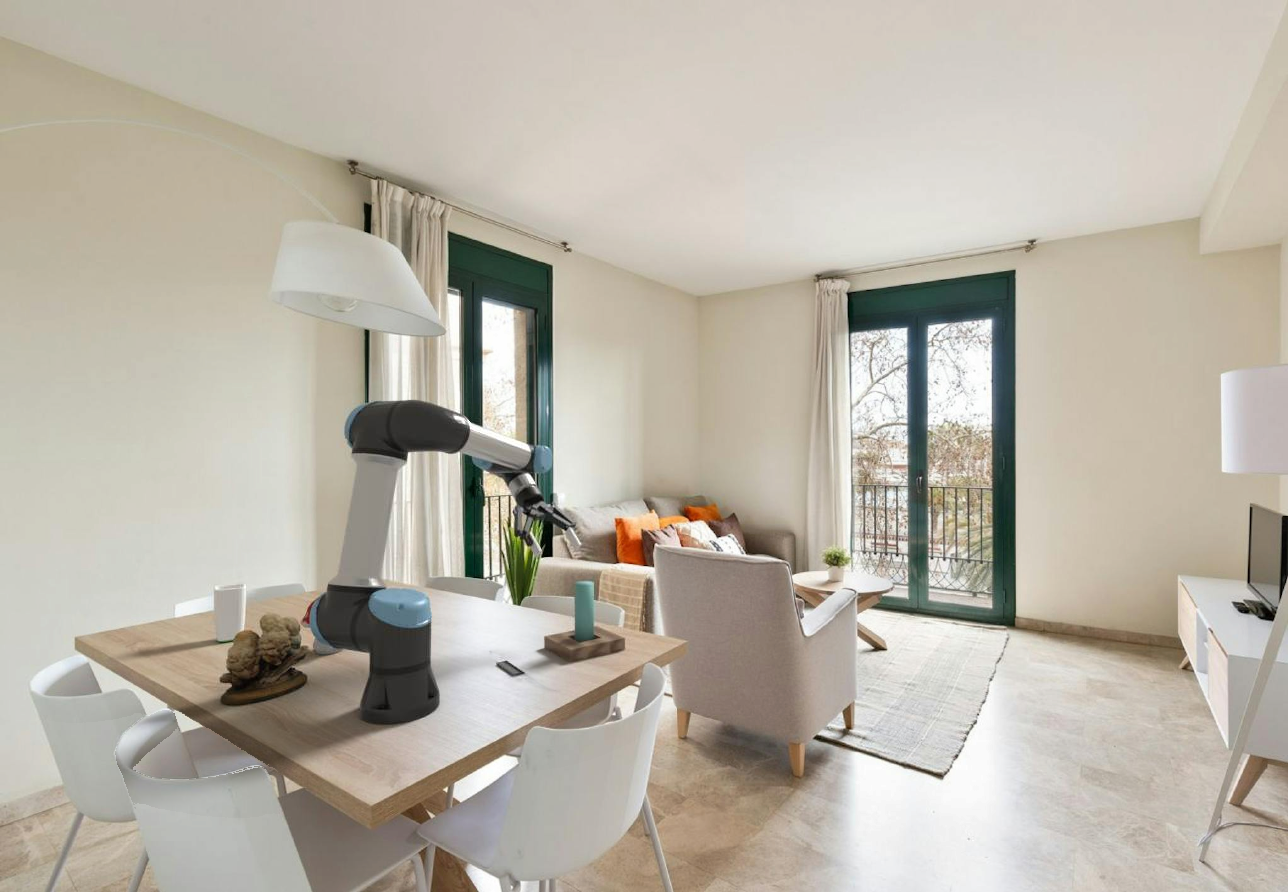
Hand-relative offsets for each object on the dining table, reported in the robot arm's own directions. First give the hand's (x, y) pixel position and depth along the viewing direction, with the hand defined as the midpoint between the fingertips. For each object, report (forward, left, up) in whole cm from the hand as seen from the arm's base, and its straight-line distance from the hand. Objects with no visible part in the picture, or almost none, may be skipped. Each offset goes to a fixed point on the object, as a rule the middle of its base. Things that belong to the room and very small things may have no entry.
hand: (559, 551), depth 167 cm
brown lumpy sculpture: (-67, +9, -25) cm, 73 cm away
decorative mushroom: (-51, +31, -25) cm, 65 cm away
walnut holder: (+2, -11, -25) cm, 27 cm away
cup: (-72, +59, -25) cm, 97 cm away
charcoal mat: (-15, -11, -25) cm, 31 cm away
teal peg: (+2, -11, -24) cm, 26 cm away
